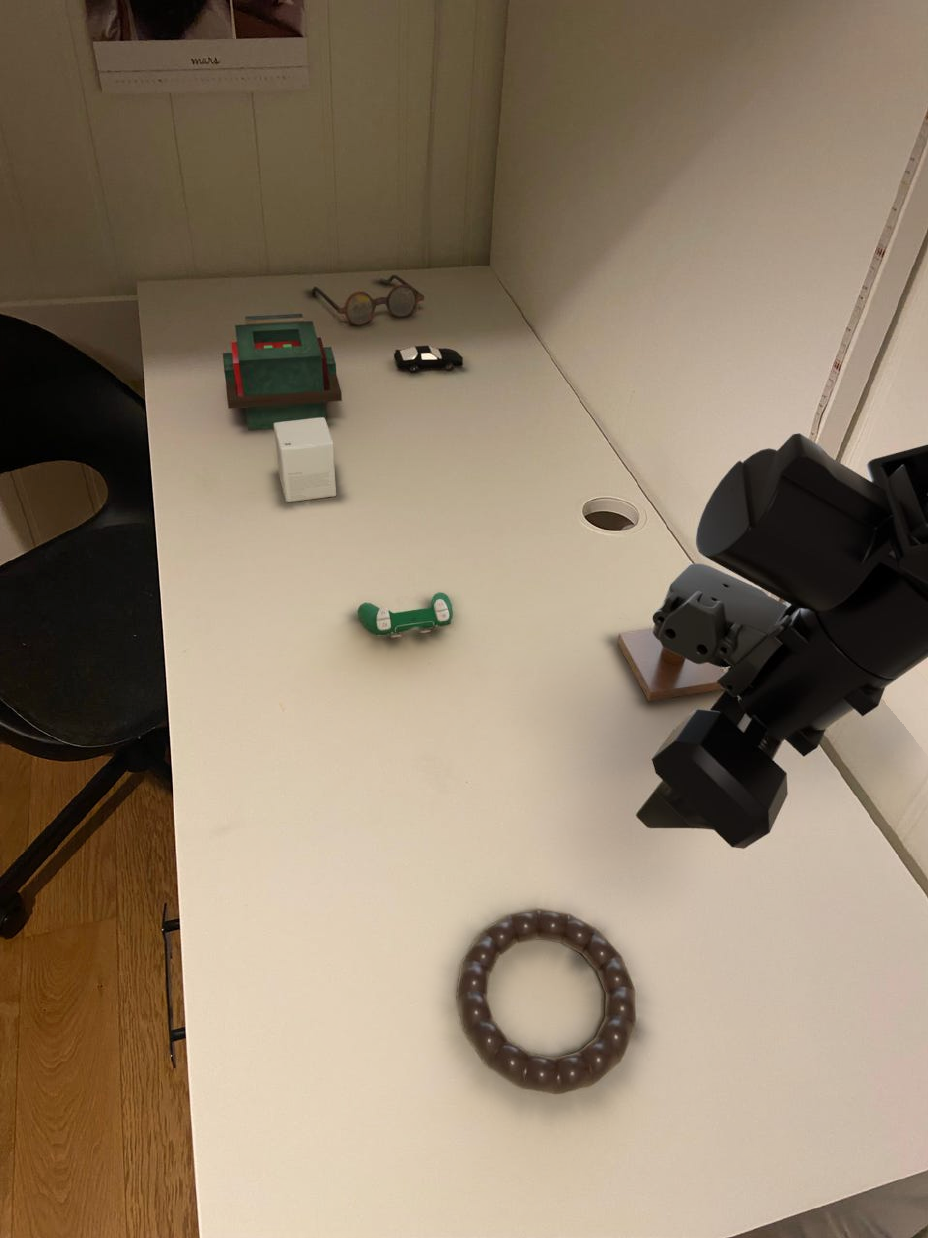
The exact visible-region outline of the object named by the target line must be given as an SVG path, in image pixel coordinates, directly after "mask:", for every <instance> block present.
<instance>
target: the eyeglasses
mask: <svg viewBox="0 0 928 1238" xmlns="http://www.w3.org/2000/svg"><path fill="white" fill-rule="evenodd" d="M394 279H395V280H397V281H398V282H399V283H401V284H398V285H395V286H394V287H393V288H391V290H390V291H389V292H388V294H387V296H379V297H376V298H373V297H372V296H371V295H370V294H368V293H367V292H366V291H355V292H353V293H352V294H350V295H349V296H348V297H347V299H346V300H345V303H344V306H343V307H340V306H339V305H338V304H337V303H335V301H333V300H332V299H331V298H330V297H329V296H328V295H327V294H326V293H324V291H322V290H321V289H320V288H319V287H317V286H313V288H312V289H311V294H312V295H313V296H314V295H316V292H317V294H319V295H320V296H321V297H322V298H323V299H324V300H325V301H326V302H327V303H328V304H329V305H330V306H331V307H332V308H333V310H335V312H337V313H338V314H339V315H345V317H346V319H347V320H348V322H349V323H351V325H355V326H363V325H366V324H367V323H369V322H370V321H371V319H372V318H373V316H374V314H375V311H376V308H377V307H378V306H381V305H385V306H386V309H387V310H388V312H389V313H390V314H391V315H392V316H394V317H396V318H406V317H408V316H411V314H413V312H414V311H415V310H416V309H417V306H418V303H419V302H421V301H424V299H425V295H424V294H423V293H421V292H419V290H418V289H416V288H415V287H414V286H412V285H411V284H409V282H407V281H406V280H404V279H403V278H401V277H400V276H399V275H397V274H392V275H391V276H390V277H389V278H388V279H382V278H381V279H379V283H380V284H390V283H391V282H393V280H394Z"/></svg>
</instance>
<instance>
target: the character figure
mask: <svg viewBox="0 0 928 1238" xmlns="http://www.w3.org/2000/svg"><path fill="white" fill-rule="evenodd" d="M244 320H245V324H235V325H234V328H235V337H236V341H231V342H230V344H231V345H230V346H231V352H223V353H222V361H223V363H222V364H223V371H224V378H225V379H224V380H225V388H226V401H227V407H228V409H229V410H230V409H245V414H246V415H245V416H246V421H247V427H248V428H247V429H248V432H249V431H250V432H251V431H262V430H274V423H277V422H284V421H294V420H302V419H310V418H321V417H324V418H325V420H326V421H327V415H326V403H330V402H331V403H332V402H342V401H343V399H342V390H341V386H340V382H339V379H338V375H337V363H336V359H335V356H334V351H333V349H332V346H325V347H324V344H323V341H322V338H321V336H320V337H318V336H317V333H316V329H315V328H316V327H315V325H314V321H313V320H307V321H306V320H305V321H304V317H303V313H293V314H289V313H288V314H273V315H271V314H269V315H253V316H252V315H251V316H244Z"/></svg>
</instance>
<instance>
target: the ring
mask: <svg viewBox="0 0 928 1238" xmlns="http://www.w3.org/2000/svg"><path fill="white" fill-rule="evenodd" d="M533 940H547V941H552V942H557V943H562V944H564V945H566V946H567V947H569V948H571V949H572V950H575V951H576V952H578V953H580V954H581V955H582V956H583V957H584V958H585V959H586V960H587V962H588V963H589V964H590V965H591V967H592V968H593V970H595V971H596V973H597V974H598V977H599V980H600V982H601V985H602V989H603V991H604V994H605V1004H604V1006H605V1008H604V1009H605V1010H604V1019H603V1021H602V1023H601V1025H600V1028H599V1030H598V1032H597V1034H596V1036H595V1038H593V1039H592V1040H591V1041H590V1042H589V1043H588V1044H586V1045H585V1046H584V1047H583V1048H582V1049H580V1050H578V1051H577V1052H574V1053H570V1054H566V1055H562V1056H559V1057H558V1056H557V1057H550V1056H546V1055H539V1054H533V1053H529V1052H528V1051H526V1050H524V1049H523V1048H522V1047H520V1046H519V1045H517V1044H516V1043H514V1042H512V1041H511V1040H510V1039H508V1038H507V1036H506V1035H505V1034H504V1032H503V1031H502V1029H501V1028H500V1027H499V1026H498V1024H497V1023H496V1021H495V1020H494V1018H493V1015H492V1011H491V1007H490V1003H489V999H488V989H489V981H490V974H491V972H492V971H493V969H494V967H495V966H496V964H497V962H498V961H499V958H500V957H501V956H502V955H503V954H504V953H506V952H508V951H509V950H510V949H511V948H513V947H514V946H515V945H517V944H520V943H524V942H528V941H529V942H530V941H533ZM630 975H631V974H630V973H629V970H628V968H627V965H626V962H625V960H624V958H623V956H622V954H620V952H619V951H618V950H617V948H615V947H614V945H612V943H611V942H610V941H609V940H608V939H607V937H606V936H605V935H604V934H603V933H602V931H600V930H599V929H597V928H596V927H594V926H592V925H590V924H589V923H587V922H585V921H583V920H582V919H580V918H578V917H576V916H574V915H573V914H571V913H567V912H562V911H556V910H549V909H543V908H534V909H533V908H532V909H529V910H523V911H518V912H514V913H510V914H506V915H504V916H503V917H502V918H500V919H498V920H497V921H495V922H494V923H492V924H491V925H489V926H488V927H487V928H485V929H484V930H482V931H481V932H480V933H479V934H478V935H477V937H476V938H475V939H474V942H473V944H472V946H471V947H470V948H469V950H468V952H467V953H466V955H465V957H464V958H463V959H462V961H461V966H460V971H459V978H458V985H457V991H456V1002H457V1006H458V1010H459V1014H460V1019H461V1023H462V1027H463V1031H464V1034H465V1036H466V1038H467V1039H468V1041H469V1042H470V1043H471V1045H472V1047H473V1049H474V1050H475V1051H476V1053H477V1054H478V1055H479V1057H480V1058H481V1060H482V1061H483V1063H484V1064H485V1065H486V1066H487V1067H488V1068H489V1069H491V1071H494V1072H495V1073H496V1074H498V1075H499V1076H501V1077H503V1078H504V1079H506V1080H507V1081H509V1082H510V1083H511V1084H513V1085H514V1086H516V1087H518V1088H520V1089H523V1090H529V1091H534V1092H540V1093H545V1094H551V1095H562V1094H567V1093H570V1092H574V1091H578V1090H581V1089H585V1088H589V1087H592V1086H594V1085H596V1084H597V1083H598V1082H599V1081H601V1080H602V1079H603V1078H604V1077H605V1076H606V1075H607V1074H608V1073H610V1072H611V1071H612V1070H613V1069H614V1068H615V1067H617V1066H618V1065H619V1064H620V1063H621V1061H622V1060H623V1058H624V1056H625V1054H626V1051H627V1049H628V1047H629V1045H630V1042H631V1041H632V1037H633V1035H634V1033H635V1030H636V1025H637V1023H636V1022H637V1021H636V1020H637V1017H636V1013H637V1012H636V1011H637V1010H636V1009H637V1007H636V1003H637V1002H636V1001H637V999H636V998H637V996H636V995H637V994H636V988H635V986H634V982H633V980H632V978H631V976H630Z"/></svg>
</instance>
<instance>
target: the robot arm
mask: <svg viewBox="0 0 928 1238" xmlns="http://www.w3.org/2000/svg"><path fill="white" fill-rule="evenodd" d="M865 467H866V472H867V474H868V475H867V476H868V478H869V479H867V478H866V477H865V476H863V475H860V474H859V473H858V472H856V471H854V470H853V469H851V468H849V467H847V466H846V465H844V464H843V463H841V462H839V461H837V460H836V459H834V458H833V457H831V456H830V455H829V454H828V453H827V451H825V450H824V449H823V447H822V446H820V445H819V444H818V443H816V442H815V441H813V440H812V439H810V438H808V437H806V436H805V435H803V434H802V433H792V434H791V435H790V437H789V438H787V440H786V441H785V442H784V443H783V444H782V445H781V446H780V447H779V448H778V449H775V448H770V447H768V448H763V449H760V450H758V451H757V452H755V453H753V454H751V455H750V456H748V457H747V458H746V459H744V461H742V460H738V461H736V463H735V464H734V465H733V466H732V467H731V468H730V469H729V470H727V473H726V474H725V475H724V476H723V477H722V478H721V480H720V481H719V483H718V484H717V486H716V487H715V489H714V490H713V491H712V493H711V495H710V497H709V499H708V500H707V503H706V504H705V506H704V509H703V511H702V513H701V515H700V518H699V522H698V525H697V529H696V534H695V535H696V536H695V546H696V548H697V551H698V553H699V554H700V555H702V556H703V557H704V558H706V559H708V560H710V561H712V562H714V563H715V564H717V565H719V566H720V567H723V568H725V569H726V570H728V571H730V572H732V573H733V574H736V575H737V576H739V577H741V578H742V579H745V580H746V581H748V582H750V583H751V584H750V583H748V582H746V581H744V580H743V581H742V580H741V579H739V578H737V577H734V576H732V575H729V574H728V573H726V572H723V571H721V570H719V569H717V568H715V567H713V566H711V565H707V564H704V563H697V562H695V563H690V564H689V565H688V566H687V567H685V569H684V570H683V571H682V572H681V573H680V574H679V575H678V576H677V577H676V578H675V579H674V580H673V581H672V582H671V583H670V585H669V587H668V590H667V593H666V595H665V598H664V600H663V602H662V604H661V606H660V607H659V608H658V609H657V610H656V611H655V612H654V613H653V615H652V621H653V624H654V625H653V628H652V629H653V634H654V636H655V637H656V638H657V639H658V640H659V641H660V642H661V644H662V646H663V647H664V648H666V649H668V650H670V651H672V652H674V653H676V654H677V655H679V656H681V657H683V658H685V659H687V660H689V661H691V662H693V663H695V664H704V663H707V662H708V663H710V664H713V665H715V666H718V667H721V668H727V669H725V670H724V673H722V674H721V676H720V677H719V679H718V680H717V682H718V683H719V684H720V685H721V686H722V687H723V688H724V689H723V691H722V693H721V694H720V695H719V696H718V698H717V700H716V701H715V702H714V703H713V705H712V706H711V707H710V708H709V709H704V708H696V709H695V710H693V711H691V713H690V714H689V715H687V716H686V717H685V718H684V719H682V721H681V722H680V723H679V724H678V725H677V726H676V727H675V728H674V729H672V731H671V732H670V733H669V734H668V736H667V738H666V739H665V740H664V741H663V743H662V744H661V745H660V747H659V748H658V749H657V751H656V752H655V753H654V755H653V757H652V758H651V762H652V766H653V768H654V769H653V770H654V772H655V774H656V775H657V776H658V777H659V778H660V779H661V781H660V782H659V783H658V784H657V786H656V788H655V789H653V791H652V792H651V794H650V795H649V796H648V797H647V798H646V800H645V801H644V803H643V804H642V805H641V807H640V808H639V809H638V811H637V812H636V814H635V816H636V819H638V820H639V821H640V822H641V823H642V824H643V825H644V826H645V827H646V828H648V829H699V830H700V829H702V830H712V831H715V833H716V834H717V835H719V837H720V838H722V840H724V841H725V842H726V843H727V844H728V845H729V846H730V847H731V848H734V849H741V850H744V849H746V848H748V847H749V846H751V845H753V844H754V843H756V842H757V841H759V840H761V839H762V838H765V836H767V835H769V834H771V831H772V828H773V826H774V824H775V822H776V820H777V818H778V816H779V814H780V812H781V809H782V808H783V806H784V803H785V801H786V800H787V797H788V794H789V793H788V790H789V789H788V773H787V772H786V770H784V769H783V768H782V767H781V766H780V765H779V764H778V763H777V762H776V761H774V759H775V757H776V755H777V753H778V751H779V750H780V748H781V745H782V743H783V742H784V741H786V742H787V743H788V744H789V745H790V746H791V747H792V748H794V749H795V750H796V751H797V752H798V753H799V754H800V755H801V756H802V757H806V756H807V755H809V754H810V753H812V752H813V751H815V750H816V749H817V748H818V747H819V745H820V743H821V741H822V739H823V737H824V734H825V732H826V730H827V728H829V727H830V726H832V725H833V724H834V723H836V722H838V721H839V720H840V719H842V718H843V717H845V716H846V715H847V714H849V713H851V712H852V711H853V710H855V711H856V712H857V713H858V714H859V715H861V716H862V717H864V716H865V715H867V714H869V713H870V712H871V711H874V709H876V708H877V707H878V706H879V705H880V702H881V700H882V697H883V694H884V692H885V689H886V687H888V686H889V685H891V684H892V683H893V682H895V681H896V680H897V679H899V678H900V677H901V676H904V674H906V673H907V672H909V671H910V670H912V669H913V668H915V667H916V666H918V665H919V664H921V663H922V662H924V661H925V660H927V658H928V444H924V445H921V446H917V447H913V448H909V449H905V450H902V451H899V452H894V453H891V454H888V455H884V456H880V457H876V458H873V459H870V460H869V461H868V462H867V464H866V465H865ZM752 584H754V585H752ZM756 586H757V587H756ZM760 588H761V589H760ZM763 590H764V591H766V592H768V593H770V594H771V595H773V596H775V597H777V598H779V599H781V600H782V601H784V602H781V601H779V600H777V599H775V598H774V597H772V596H770V595H768V594H766V592H764V591H763ZM785 602H786V603H785Z"/></svg>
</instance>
